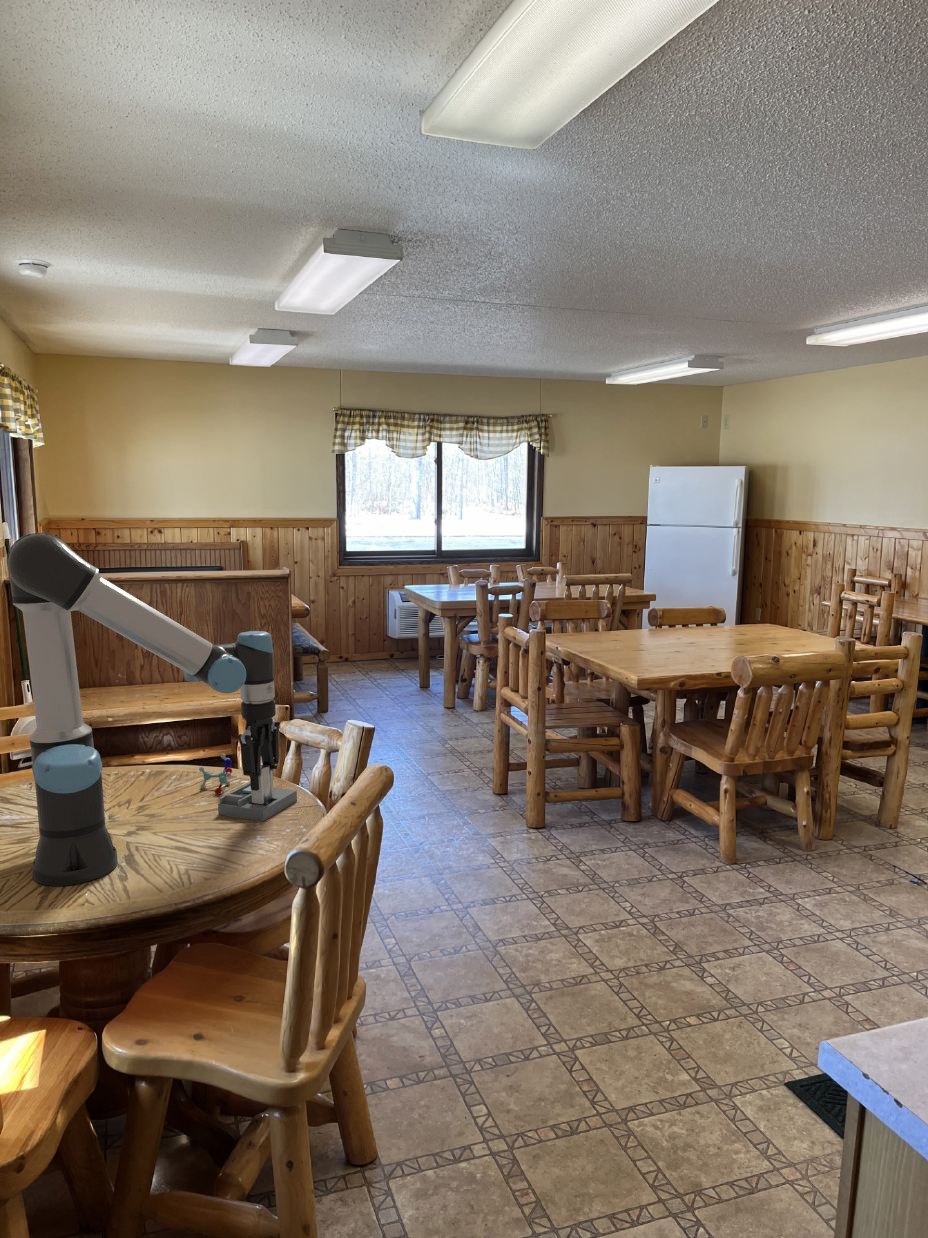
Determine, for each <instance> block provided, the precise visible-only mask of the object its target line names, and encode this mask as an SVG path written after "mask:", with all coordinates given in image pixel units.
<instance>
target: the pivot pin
mask: <svg viewBox="0 0 928 1238" xmlns="http://www.w3.org/2000/svg"><path fill="white" fill-rule="evenodd" d="M260 775H263V792H264V803H263V804H258V803H255V805H262V806H267V805H268V804H270V803H271V792H270V769H269V765H263V764H261V767H260Z"/></svg>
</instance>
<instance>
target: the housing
mask: <svg viewBox="0 0 928 1238" xmlns="http://www.w3.org/2000/svg"><path fill="white" fill-rule="evenodd" d="M249 786H251V784H250V781H249V782H248V783H246V784H244V785H241V786H240V787H238V788H235V789H234V790H233V791H230V792H229V793H226V794H224V795H223V796H221V797H218V800H219V801H218V802H219V803H218V804H217V808H218V809H217V811H218V816H226V817H234V818H239V819H245V820H246V819H248V820H254V821H261V822H264V821H266V820H267V819H269V818H272V817H273V816H274V815H276V814H278V813H279V812H280V811H283V810H284V809H285V808H288V807H289V806H291V805H292V804H294V803H296V802H297V801H298V791H297V789H287V788H282V787H281V788H280V787H274V786H273V791H274V797H273V798H271V803H270V804H268V805H267V806H262V805H255V803H252V793H251V794H250V793H243V790H244V789H246V788H247V787H249Z"/></svg>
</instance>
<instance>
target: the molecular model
mask: <svg viewBox="0 0 928 1238" xmlns="http://www.w3.org/2000/svg"><path fill="white" fill-rule="evenodd" d="M226 756H227V754H225V753H221V755H220V758H221V759H223V760H224V764H225V766H224V768H223V770H222V772H219V774H211V773H210V771H208V770H206V771H205V767H204V766H200V767H199V768H198V771H199V772H201V773H202V774H203V775H202V777H203V779H204V780H203V781H202V783H201V784H200V785H199V787H200V789H202V790H203V789H205V788H206V783H207V781H209V780H210V779H211V778H218V782H219V784H218V785H219V786H218V787H216V788H215V789H214V794H216V795H220V794H222V791H223V790H222V787H223V784H225V786H230V784H231V781H230V780H228V779H229V778H231V776H232V773H233V769H232V768H231V767H230V766H231V765H232V764H233V761H232V760H231V758H229V757H226ZM227 778H228V779H227Z"/></svg>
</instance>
